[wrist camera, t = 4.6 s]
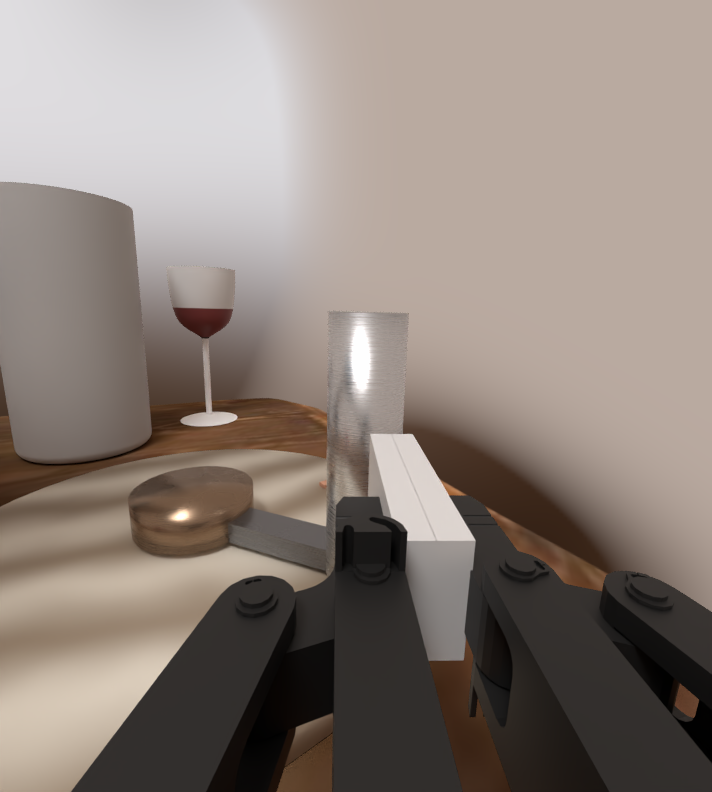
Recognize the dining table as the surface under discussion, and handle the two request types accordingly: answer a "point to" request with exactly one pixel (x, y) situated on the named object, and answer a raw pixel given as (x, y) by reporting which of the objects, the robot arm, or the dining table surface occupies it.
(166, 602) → the dial stand
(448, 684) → the dining table surface
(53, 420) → the cylinder vase
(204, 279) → the wineglass
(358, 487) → the bronze knob lever
